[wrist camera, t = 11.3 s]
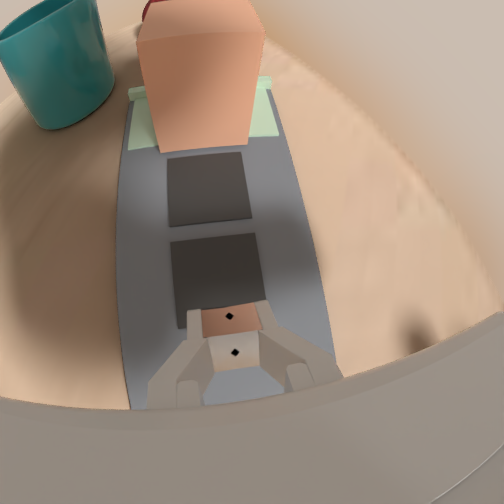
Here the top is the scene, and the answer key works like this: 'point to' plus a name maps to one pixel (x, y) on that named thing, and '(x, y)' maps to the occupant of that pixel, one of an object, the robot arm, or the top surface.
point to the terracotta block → (200, 71)
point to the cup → (58, 61)
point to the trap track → (211, 245)
